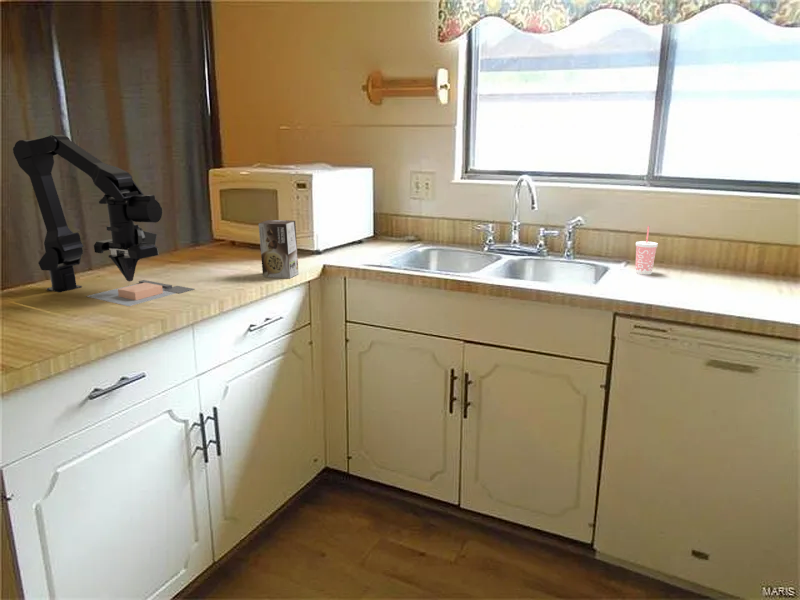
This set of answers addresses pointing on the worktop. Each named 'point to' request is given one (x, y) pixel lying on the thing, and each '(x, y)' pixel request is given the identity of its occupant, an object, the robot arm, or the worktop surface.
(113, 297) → the mat
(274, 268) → the coffee box
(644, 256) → the beverage cup
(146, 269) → the worktop surface
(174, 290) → the turner
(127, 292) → the tile
